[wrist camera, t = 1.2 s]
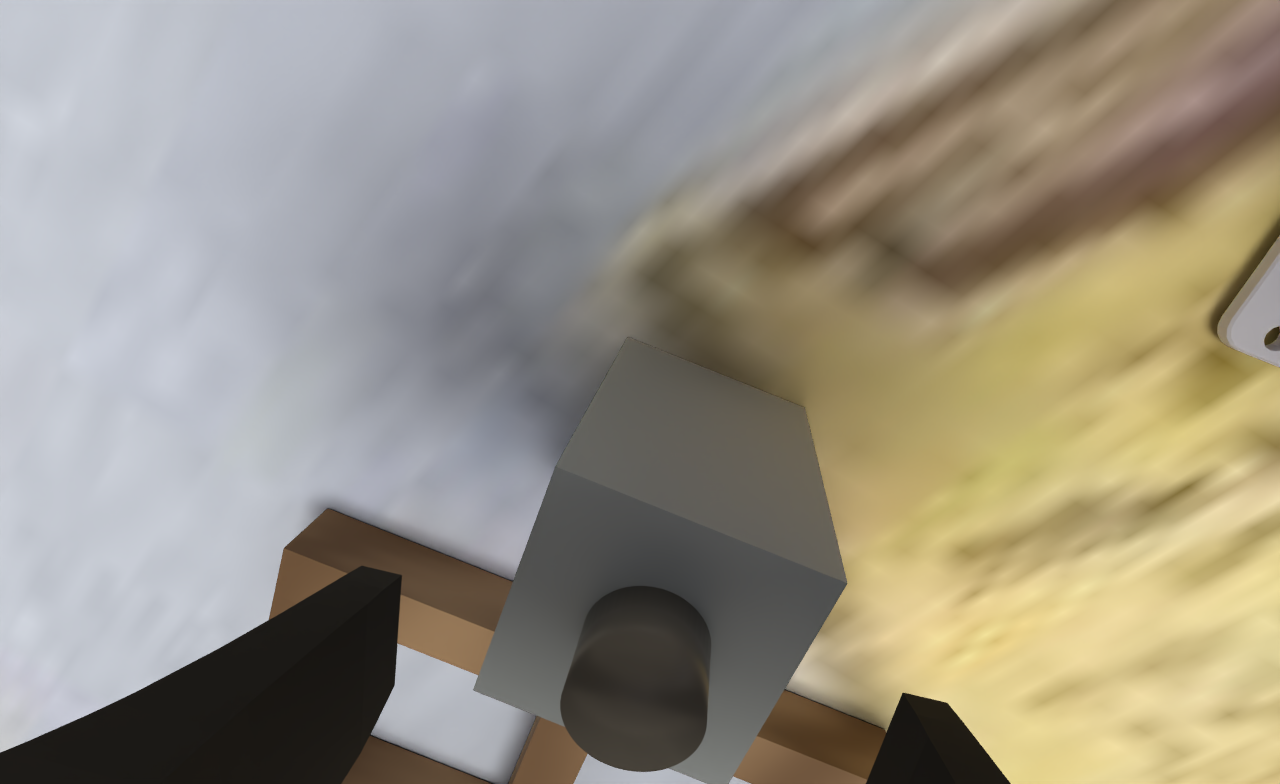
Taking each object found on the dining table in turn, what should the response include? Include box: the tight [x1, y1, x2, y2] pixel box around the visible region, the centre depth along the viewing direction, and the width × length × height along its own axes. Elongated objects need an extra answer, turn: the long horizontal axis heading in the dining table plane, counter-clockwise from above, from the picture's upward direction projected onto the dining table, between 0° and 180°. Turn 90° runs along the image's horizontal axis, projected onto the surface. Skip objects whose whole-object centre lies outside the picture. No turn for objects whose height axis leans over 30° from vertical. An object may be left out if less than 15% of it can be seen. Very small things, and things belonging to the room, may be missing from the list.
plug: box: [473, 337, 847, 784], centre depth 13 cm, size 4×4×8 cm
